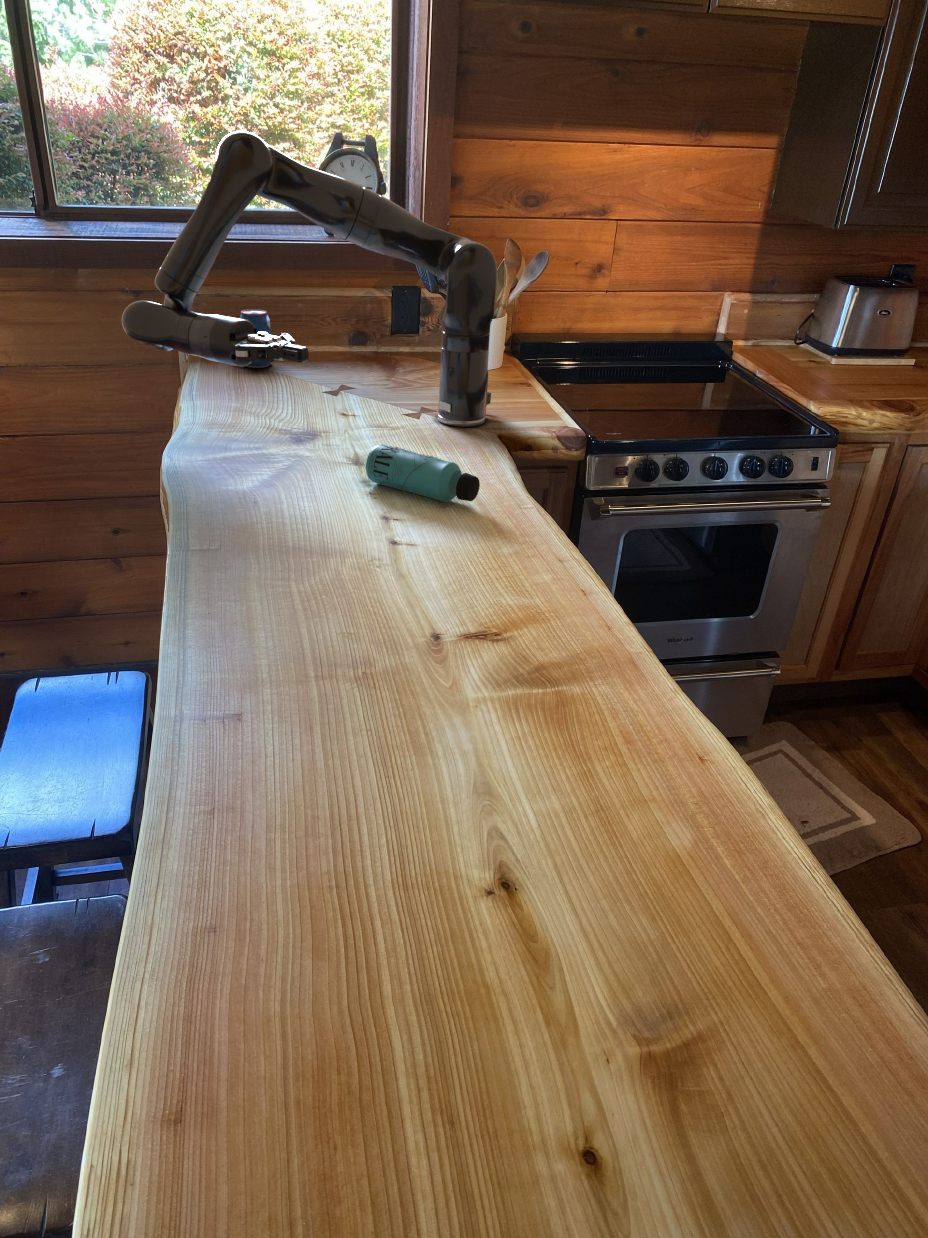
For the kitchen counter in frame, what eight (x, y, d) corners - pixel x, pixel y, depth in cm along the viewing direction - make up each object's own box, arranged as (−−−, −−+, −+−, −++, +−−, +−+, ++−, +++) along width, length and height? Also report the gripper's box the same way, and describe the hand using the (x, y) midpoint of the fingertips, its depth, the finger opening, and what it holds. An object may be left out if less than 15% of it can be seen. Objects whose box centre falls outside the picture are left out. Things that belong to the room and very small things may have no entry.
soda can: (277, 363, 213) (274, 310, 207) (264, 369, 207) (261, 315, 201) (249, 360, 214) (246, 307, 208) (236, 366, 208) (233, 312, 202)
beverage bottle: (382, 472, 149) (486, 500, 140) (357, 486, 145) (463, 516, 136) (380, 435, 146) (486, 461, 137) (355, 448, 141) (463, 477, 132)
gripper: (192, 322, 143) (276, 337, 136) (249, 310, 154) (330, 324, 146) (197, 369, 147) (279, 387, 140) (252, 355, 157) (331, 370, 150)
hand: (305, 354), depth 143 cm, fingers closed
